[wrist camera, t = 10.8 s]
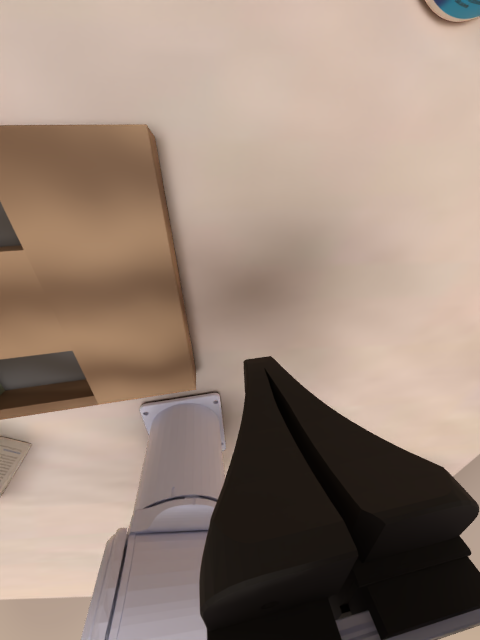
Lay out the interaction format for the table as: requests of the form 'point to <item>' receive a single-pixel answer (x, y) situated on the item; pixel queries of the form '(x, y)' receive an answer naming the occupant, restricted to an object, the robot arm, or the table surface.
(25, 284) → the board
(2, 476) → the light bulb box
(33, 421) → the table surface
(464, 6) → the beverage bottle
